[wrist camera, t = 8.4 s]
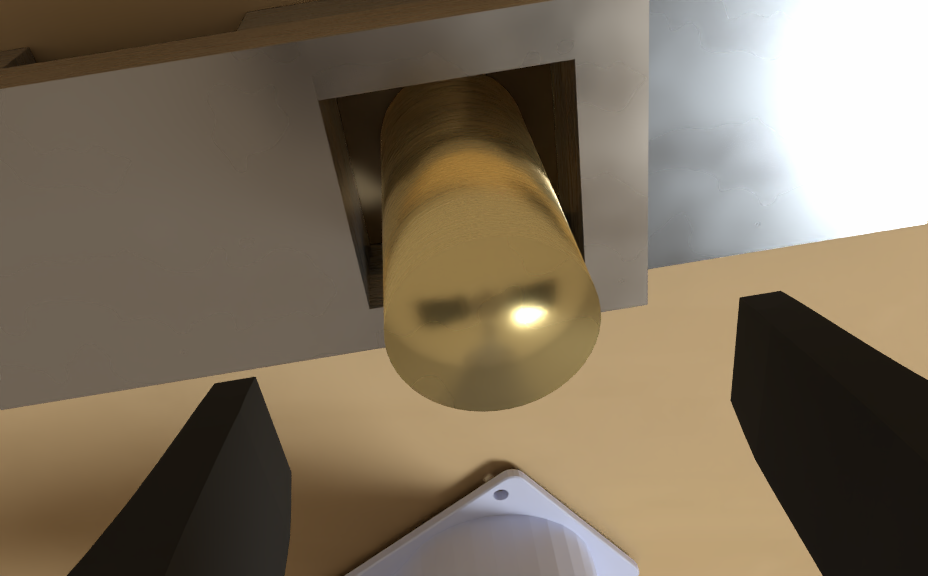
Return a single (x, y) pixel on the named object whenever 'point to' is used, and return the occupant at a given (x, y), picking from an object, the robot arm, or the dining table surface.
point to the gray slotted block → (334, 188)
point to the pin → (477, 252)
